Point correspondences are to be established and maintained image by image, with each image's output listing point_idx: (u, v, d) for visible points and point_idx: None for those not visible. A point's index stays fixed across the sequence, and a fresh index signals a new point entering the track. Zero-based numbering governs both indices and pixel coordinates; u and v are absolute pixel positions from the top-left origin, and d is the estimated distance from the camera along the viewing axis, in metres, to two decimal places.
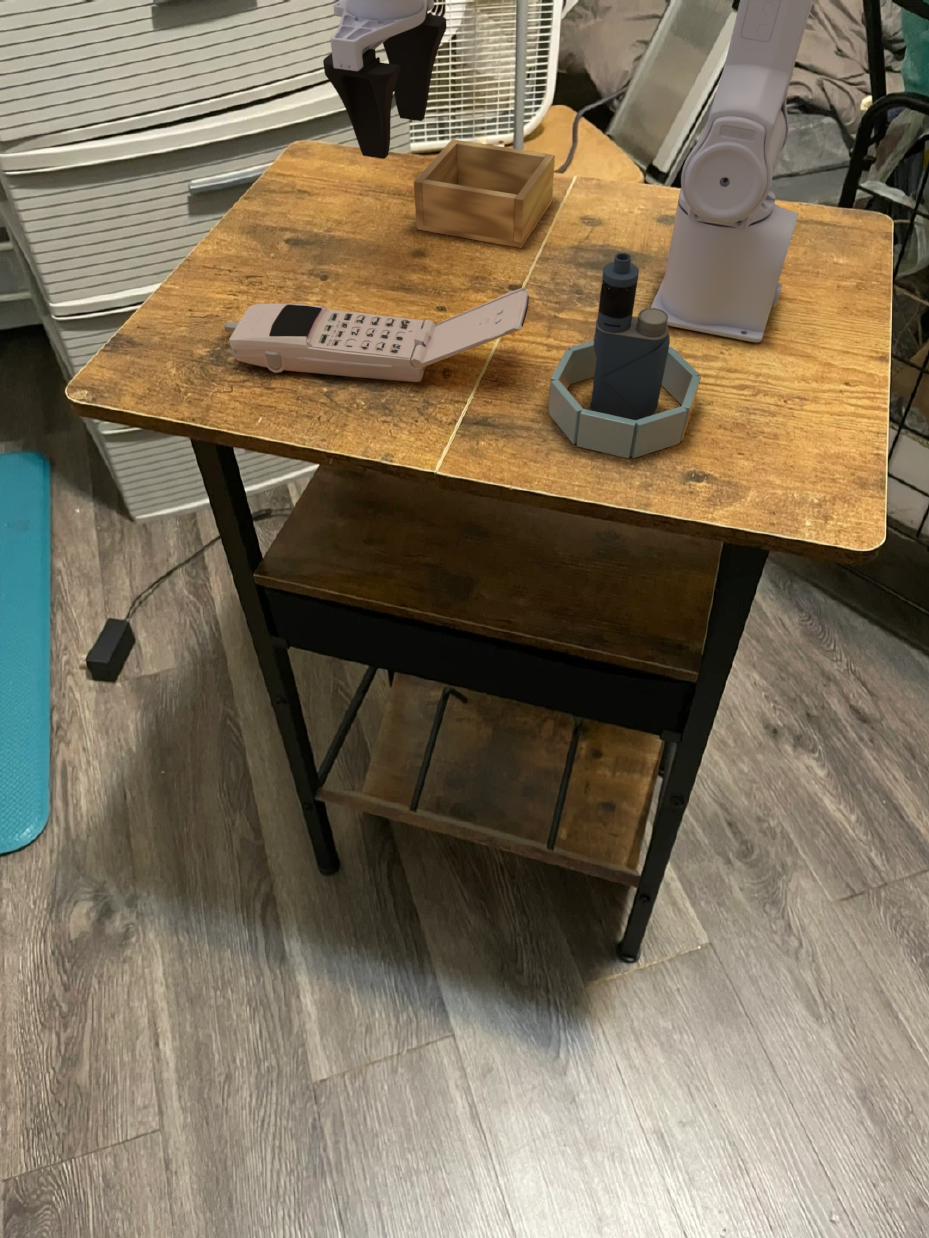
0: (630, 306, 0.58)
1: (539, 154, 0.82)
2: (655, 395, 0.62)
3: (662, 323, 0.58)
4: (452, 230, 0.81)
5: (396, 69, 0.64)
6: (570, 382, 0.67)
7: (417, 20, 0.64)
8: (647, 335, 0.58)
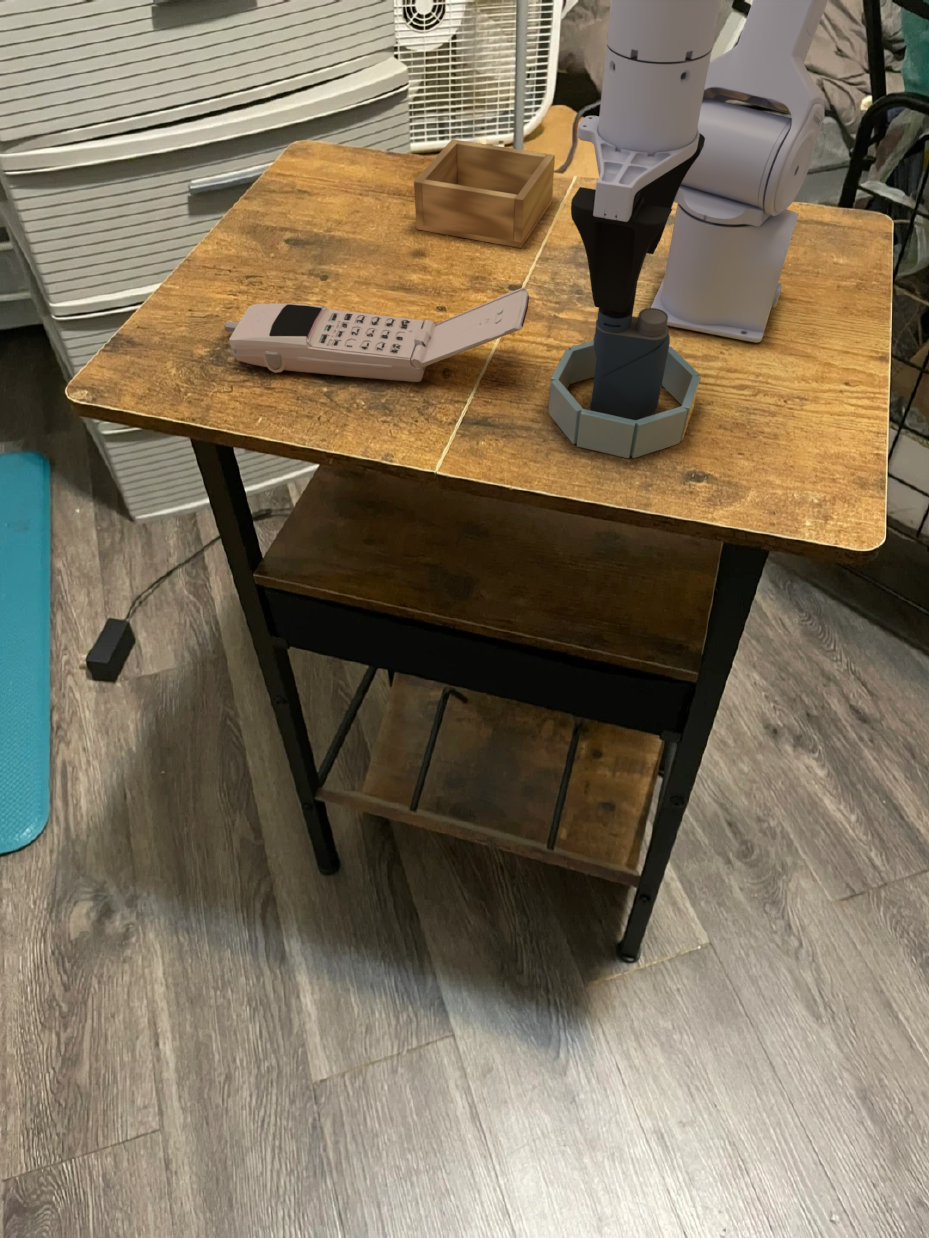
0: (630, 306, 0.58)
1: (539, 154, 0.82)
2: (655, 395, 0.62)
3: (662, 323, 0.58)
4: (452, 230, 0.81)
5: (668, 215, 0.49)
6: (570, 382, 0.67)
7: (693, 150, 0.50)
8: (647, 335, 0.58)
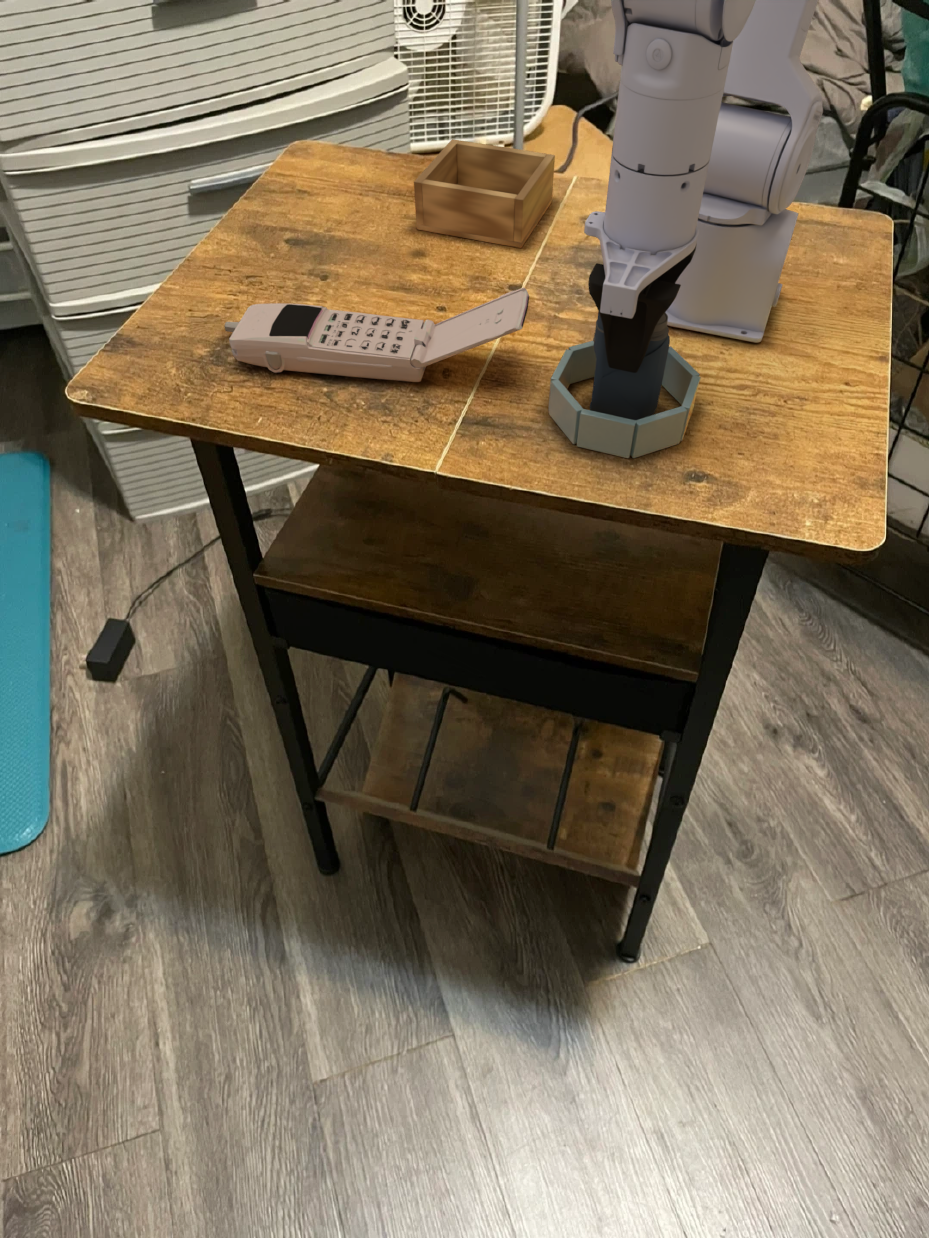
0: None
1: (539, 154, 0.82)
2: (656, 395, 0.62)
3: (662, 323, 0.58)
4: (452, 230, 0.81)
5: (678, 290, 0.54)
6: (570, 382, 0.67)
7: (692, 247, 0.53)
8: None
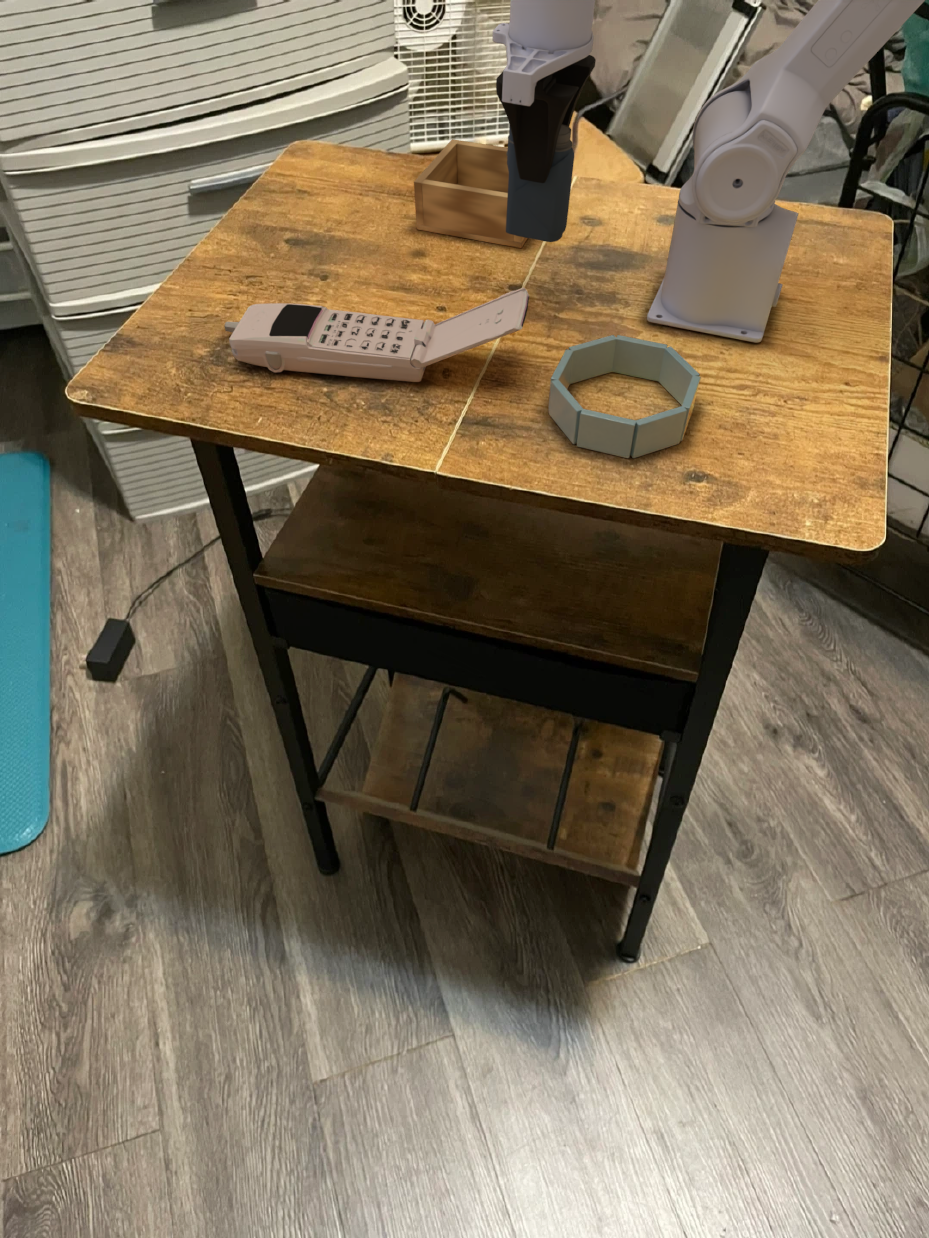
0: None
1: None
2: (562, 213, 0.68)
3: (564, 135, 0.64)
4: (452, 230, 0.81)
5: (575, 91, 0.60)
6: (570, 382, 0.67)
7: (587, 51, 0.59)
8: None
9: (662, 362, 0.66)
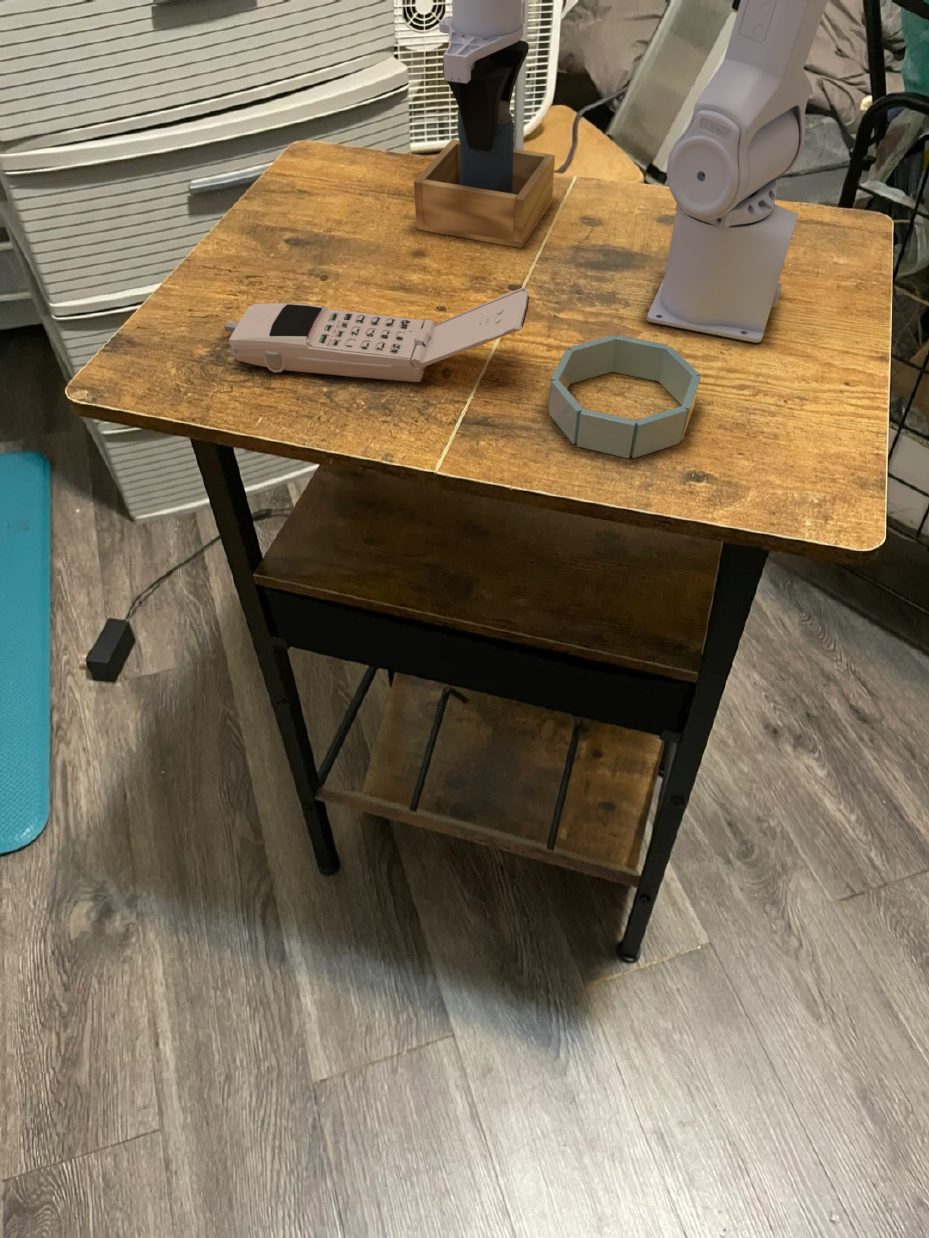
0: None
1: (539, 154, 0.82)
2: (507, 177, 0.80)
3: (503, 109, 0.76)
4: (452, 230, 0.81)
5: (508, 71, 0.72)
6: (570, 382, 0.67)
7: (517, 37, 0.71)
8: None
9: (662, 362, 0.66)
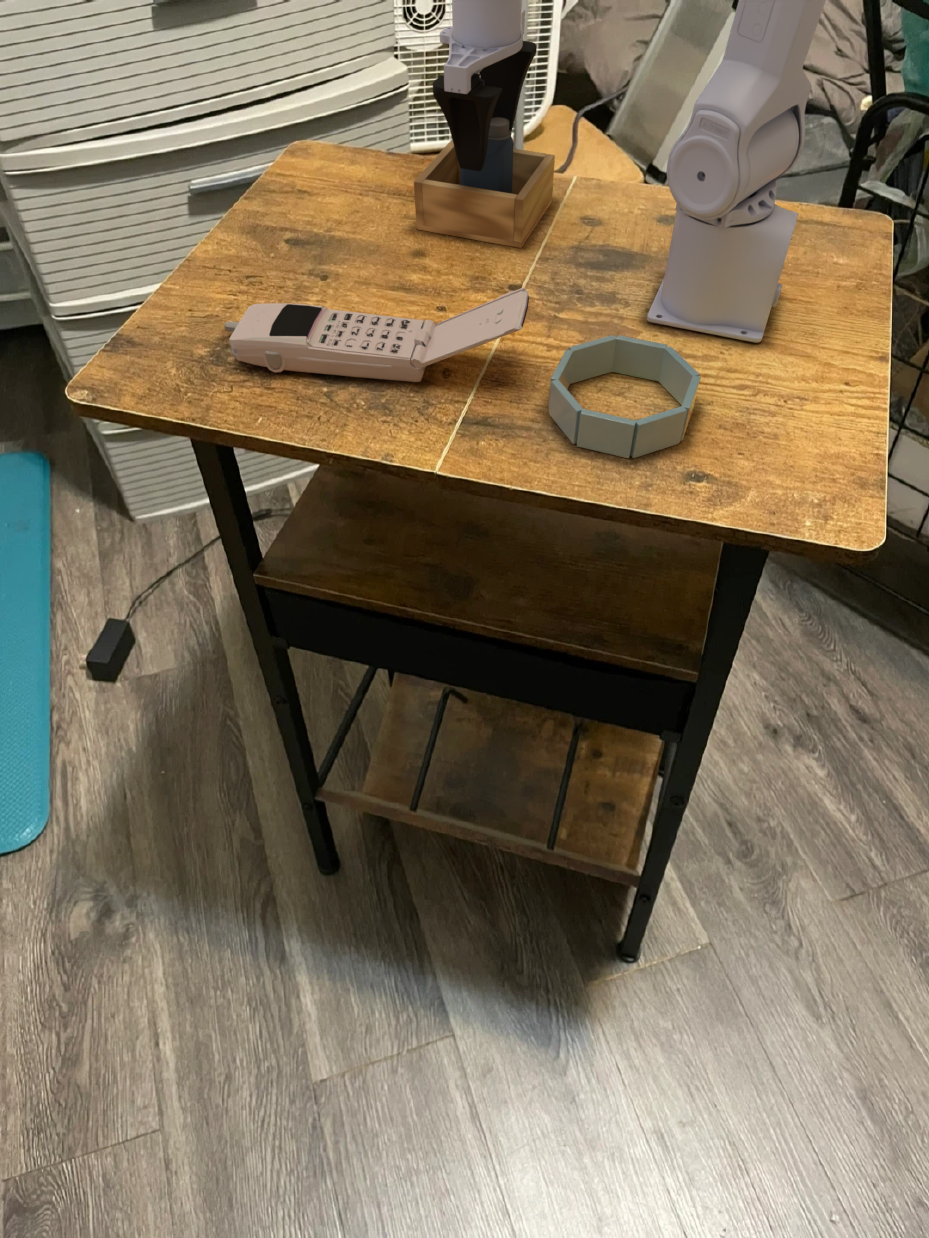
0: None
1: (539, 154, 0.82)
2: (506, 192, 0.81)
3: (503, 126, 0.77)
4: (452, 230, 0.81)
5: (499, 92, 0.71)
6: (570, 382, 0.67)
7: (517, 47, 0.72)
8: (493, 136, 0.77)
9: (662, 362, 0.66)
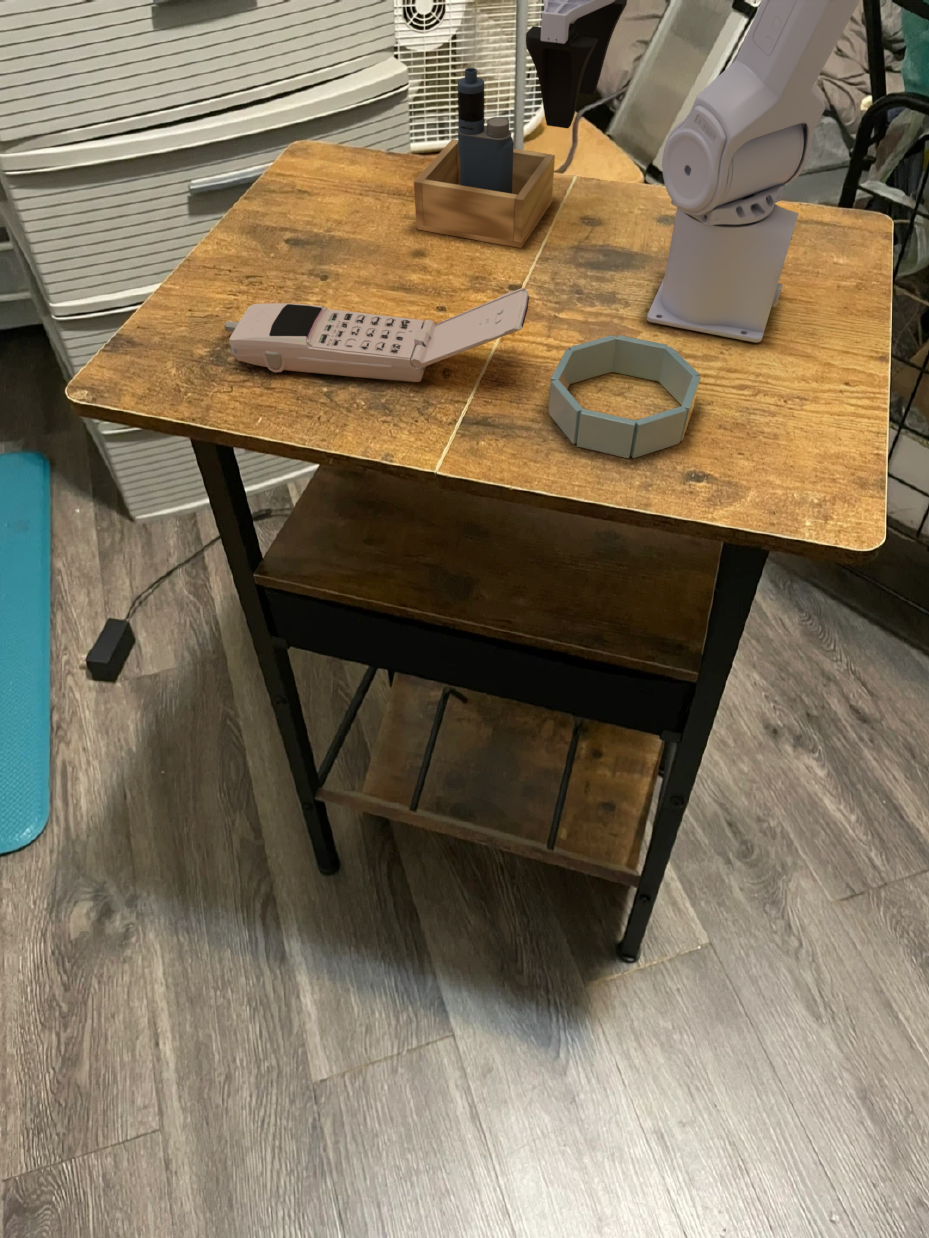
0: (479, 112, 0.76)
1: (539, 154, 0.82)
2: (506, 192, 0.81)
3: (503, 126, 0.77)
4: (452, 230, 0.81)
5: (595, 42, 0.68)
6: (570, 382, 0.67)
7: None
8: (493, 136, 0.77)
9: (662, 362, 0.66)
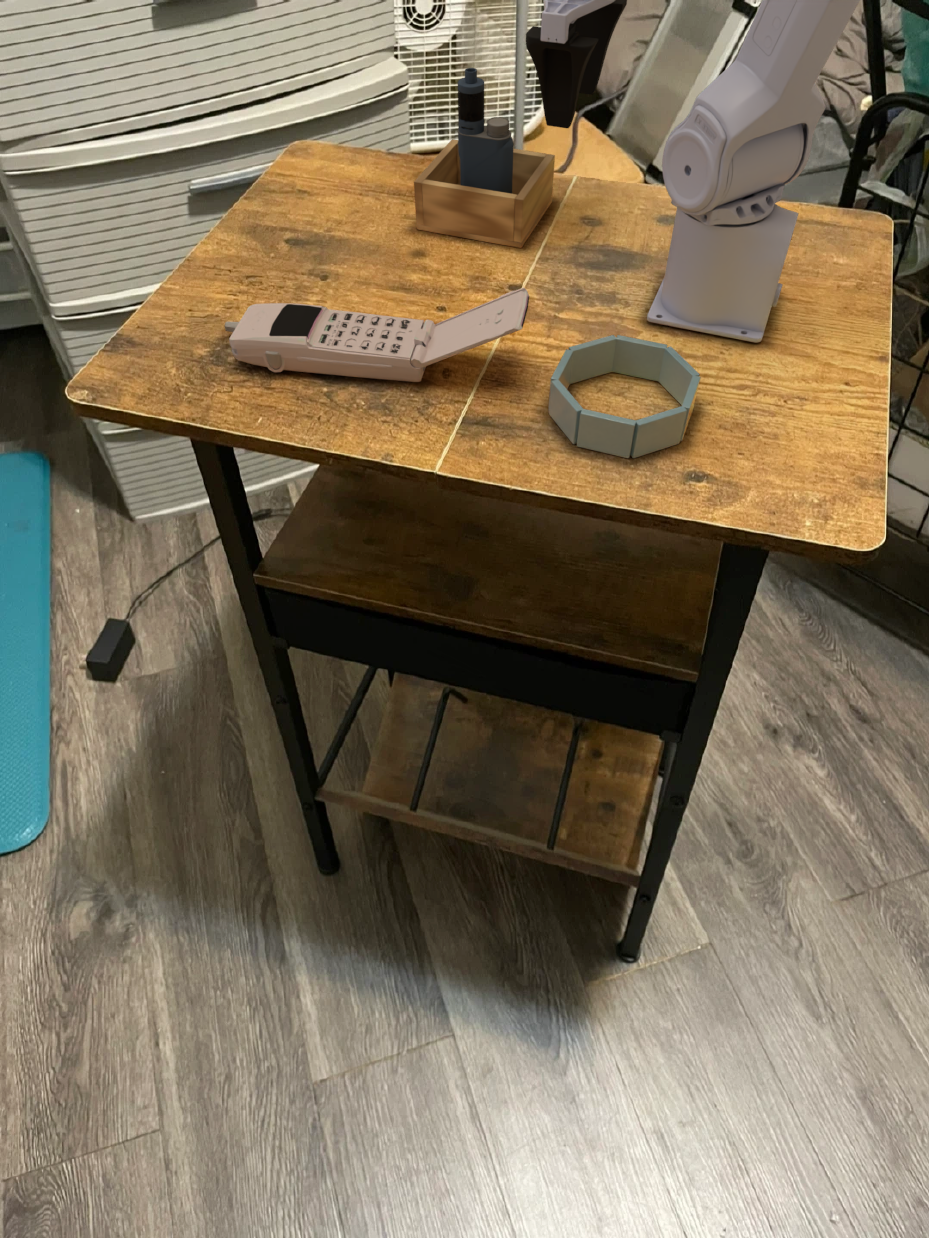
0: (479, 112, 0.76)
1: (539, 154, 0.82)
2: (506, 192, 0.81)
3: (503, 126, 0.77)
4: (452, 230, 0.81)
5: (595, 42, 0.68)
6: (570, 382, 0.67)
7: None
8: (493, 136, 0.77)
9: (662, 362, 0.66)
